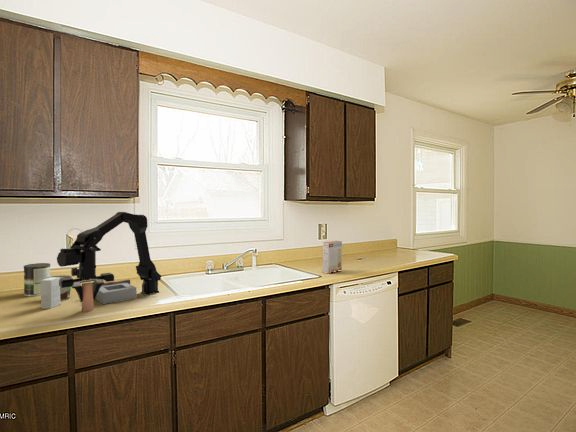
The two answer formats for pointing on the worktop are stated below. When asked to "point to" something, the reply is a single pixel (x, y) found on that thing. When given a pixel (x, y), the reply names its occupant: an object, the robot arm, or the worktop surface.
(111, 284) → the walnut wall
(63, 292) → the food container
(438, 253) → the worktop surface
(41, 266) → the coffee can
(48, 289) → the skincare box
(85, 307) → the dowel
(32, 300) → the worktop surface
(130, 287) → the socket block
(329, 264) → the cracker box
